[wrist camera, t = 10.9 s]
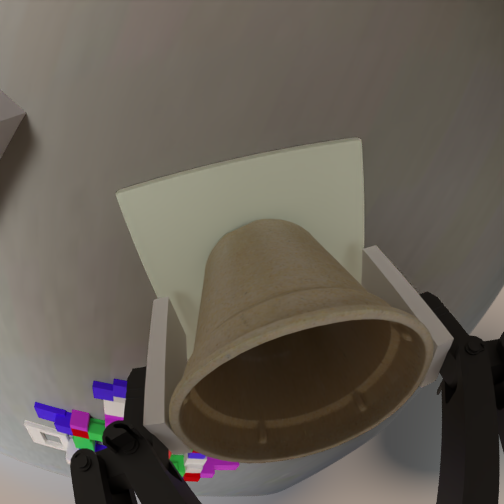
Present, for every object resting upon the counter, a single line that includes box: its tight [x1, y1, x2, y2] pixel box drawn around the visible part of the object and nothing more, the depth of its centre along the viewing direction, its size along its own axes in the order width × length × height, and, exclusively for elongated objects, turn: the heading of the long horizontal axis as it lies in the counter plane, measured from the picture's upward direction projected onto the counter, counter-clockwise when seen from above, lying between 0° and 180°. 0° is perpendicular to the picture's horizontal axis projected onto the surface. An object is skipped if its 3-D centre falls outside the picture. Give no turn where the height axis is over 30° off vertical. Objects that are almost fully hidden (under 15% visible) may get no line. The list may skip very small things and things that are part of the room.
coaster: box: [115, 137, 364, 360], centre depth 17 cm, size 12×12×1 cm
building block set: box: [24, 379, 239, 482], centre depth 25 cm, size 25×20×4 cm
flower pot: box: [169, 219, 434, 463], centre depth 13 cm, size 9×9×9 cm
